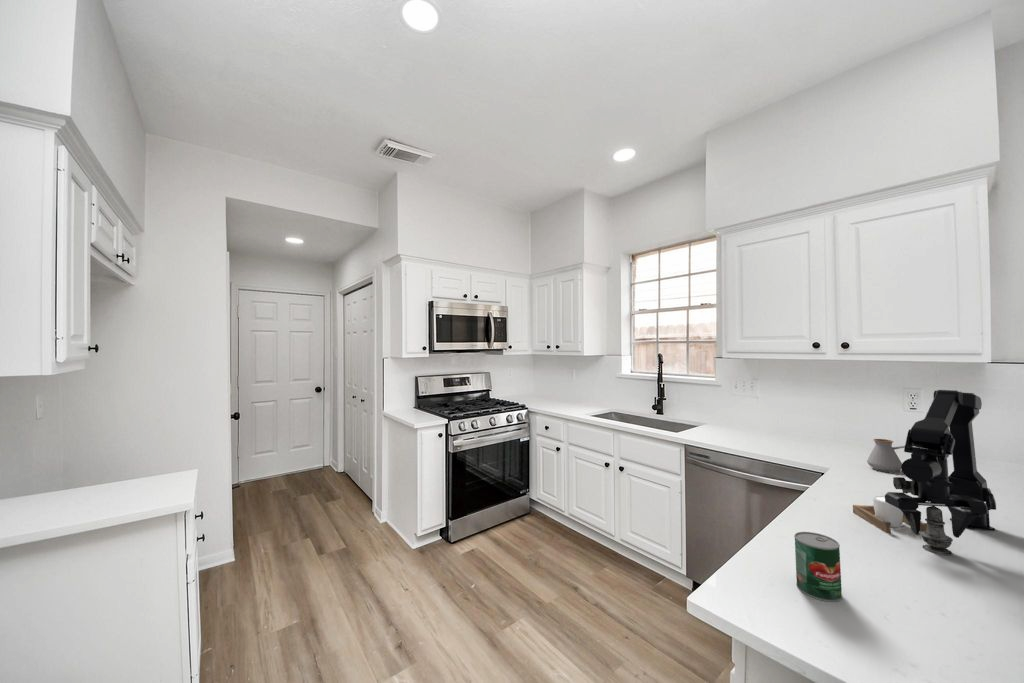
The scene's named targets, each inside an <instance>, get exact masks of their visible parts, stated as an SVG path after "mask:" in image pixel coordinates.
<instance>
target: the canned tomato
mask: <svg viewBox="0 0 1024 683" xmlns="http://www.w3.org/2000/svg"><path fill="white" fill-rule="evenodd" d="M793 537H794V554H795V571H796V572H795V574H796V575H795V576H796V584H795V585H796V587H797V589H798V590H799V591H801V593H803V594H805V595H806V596H808V597H809V598H810V597H811V598H812V599H815V600H819V601H823V602H827V603H828V602H830V603H833V602H834V603H835V602H839V601H841V600H842V599H843V593H842V589H843V588H842V574H841V571H842V569H841V553H840V552H841V551H840V543H839V541H837V540H835V539H834V538H832V537H829V536H827V535H824V534H821V533H817V532H812V531H811V532H810V531H799V532H796V533H794V536H793Z"/></svg>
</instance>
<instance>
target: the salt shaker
mask: <svg viewBox="0 0 1024 683" xmlns="http://www.w3.org/2000/svg"><path fill="white" fill-rule="evenodd" d="M925 514H926V518H924V521H926V523H927V530H926V531H922V532H921V531H920V532H919V535H920V536H921V539H922V540H923V541H924V542H925V544H923V545H922V549H924V550H925V551H928V552H930V553H933V554H936V555H942V556H951V555H953V552H952V551H951V550H949V549H948V548H950V547H951V546H952V542H953V541H954V539H953V538H952V537H951V536H949V535H946V532H945V524H946V522H945V521H944V518H943V517H944V516H943V515H944V514H943V511H942V509H940V507H938V506H926V508H925Z"/></svg>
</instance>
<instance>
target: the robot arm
mask: <svg viewBox="0 0 1024 683" xmlns="http://www.w3.org/2000/svg"><path fill="white" fill-rule="evenodd" d="M981 398H982V397H980V396H979V395H976V394H975V393H973V392H962V391H958V390H953V389H952V390H950V389H938V390H934V391H933V400H932V401H931V404H930V406H929V408H928V410H927V412H926V415H925V416H924V418H923V419H921V420H918V421H916V422H914V424H913V425H912V426H911V429H908V431H907V434H906V439H905V444H904V446H905V448H903V449H904V450H903V452H904V453H908V454H909V453H910V458H908V459H906V460H904V461H903V462H901V463H902V466H901V472H902V473H903V475H904V476H905V477H907V478H908V479H909V480H906V478H905V477H903V476H901V477H899V476H896V477H895V476H894V477H893V478H892V479H893V480H892V483H893V484H892V485H893V487H894V489H896V490H901V491H902V492H900V491H899V492H897V491H888V492H886V493H885V495H884V497H885V502H887V503H889V504H891V505H893V506H895V507H897V508H899V509H900V510H901V511H902V512H903V514H904V515H905V517H906V519H907V521H908V523H909V525H910V529H911V530H912V533H913V534H914V535H915V536H919V535H920V532H921V531H920V522H922V511H920V510H919V506H926V507H930V506H935V507H946V508H947V509H948V511H949V512H950V515H951V517H949V520H950V521H951V530H952V535H953V537H955V538H960V537H961V536H962V534H963V533H964V532H965V530H966V529H970V530H983V531H996V528H995V527H994V526H991V525H990V524H991V523H990V511H992V510H993V511H995V510H997V503H996V499H995V496H994V494H993V492H992V490H991V489H990V488H989V487H988V484H987V480H986V478H984V477H983V475H982V474H980V472H979V471H978V468H977V459H976V450H975V438H974V431H973V430H974V429H973V421H974V420H975V419H976V417H978V416H979V414H980V410H981V409H982V399H981ZM913 444H914V447H912V445H913ZM950 455H951V456H952V465H953V471H952V472H951V473H950V475H949V466H948V464H949V463H948V458H949V456H950ZM909 494H910V495H909ZM911 495H912V496H911ZM913 496H915V497H913ZM909 525H908V526H909Z"/></svg>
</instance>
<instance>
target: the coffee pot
mask: <svg viewBox="0 0 1024 683" xmlns="http://www.w3.org/2000/svg"><path fill="white" fill-rule="evenodd" d="M873 441H874V447H873V448H872V450H871V452H870V454H869V456H868V458H867V459H866V463H867V464H868V465H869V466H870V467H871V468H872V469H873V470H875V471H879V472H883V473H884V472H885V473H897V472H898V471H902V469H901V466H902V463H903V462H902V461H901V460H900V458H899V456H898V454H897V452H896V451H895V450H900V449H904V448H905V445H899V446H894V447H893V446H892V445H893V443H894V441H893V440H891V439H885V438H874V439H873ZM912 447H915V446H914V444H913V445H912Z"/></svg>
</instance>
